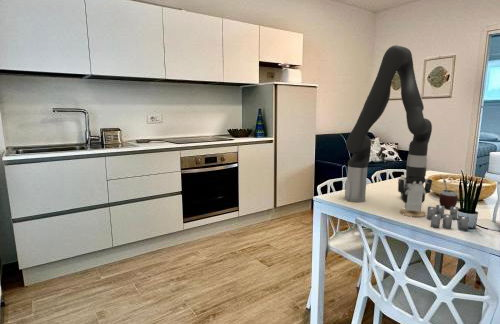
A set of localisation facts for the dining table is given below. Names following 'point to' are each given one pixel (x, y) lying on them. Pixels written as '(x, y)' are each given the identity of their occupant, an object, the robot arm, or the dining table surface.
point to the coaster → (412, 213)
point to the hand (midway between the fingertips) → (413, 202)
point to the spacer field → (447, 218)
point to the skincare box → (414, 198)
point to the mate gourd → (448, 197)
